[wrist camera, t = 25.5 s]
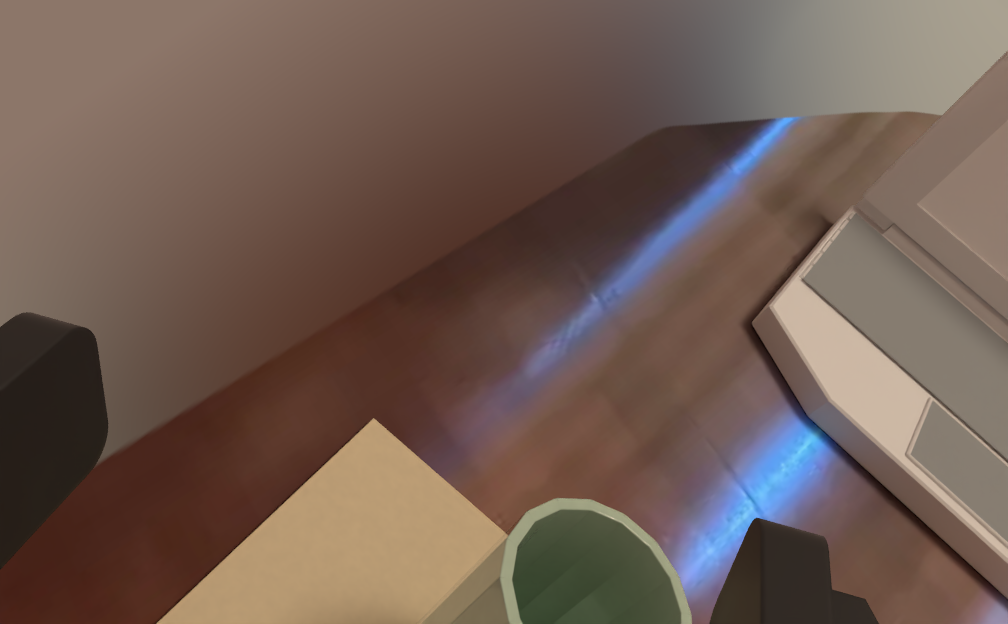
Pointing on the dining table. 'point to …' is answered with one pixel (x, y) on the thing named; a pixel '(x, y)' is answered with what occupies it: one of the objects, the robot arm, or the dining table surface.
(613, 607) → the pen cup
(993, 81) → the laptop
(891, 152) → the dining table surface
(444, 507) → the felt mat
